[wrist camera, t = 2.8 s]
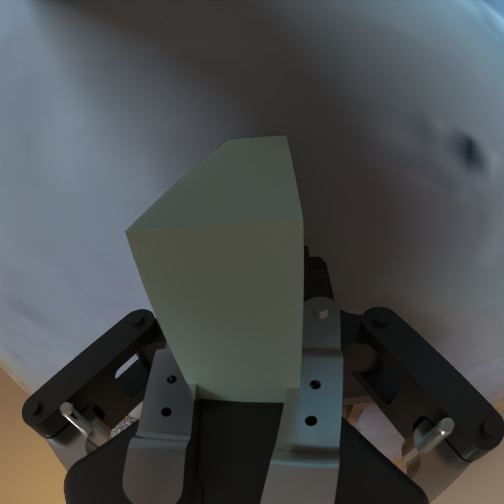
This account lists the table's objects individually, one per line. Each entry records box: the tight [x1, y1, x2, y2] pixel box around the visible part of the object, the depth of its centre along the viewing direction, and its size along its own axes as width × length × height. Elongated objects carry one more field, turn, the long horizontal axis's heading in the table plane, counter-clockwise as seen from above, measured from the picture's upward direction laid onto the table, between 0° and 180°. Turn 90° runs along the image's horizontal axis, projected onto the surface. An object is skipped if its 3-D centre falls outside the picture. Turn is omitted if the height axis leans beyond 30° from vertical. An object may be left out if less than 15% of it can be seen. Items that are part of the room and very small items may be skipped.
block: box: [125, 135, 304, 402], centre depth 10 cm, size 11×3×9 cm, turn 6°
